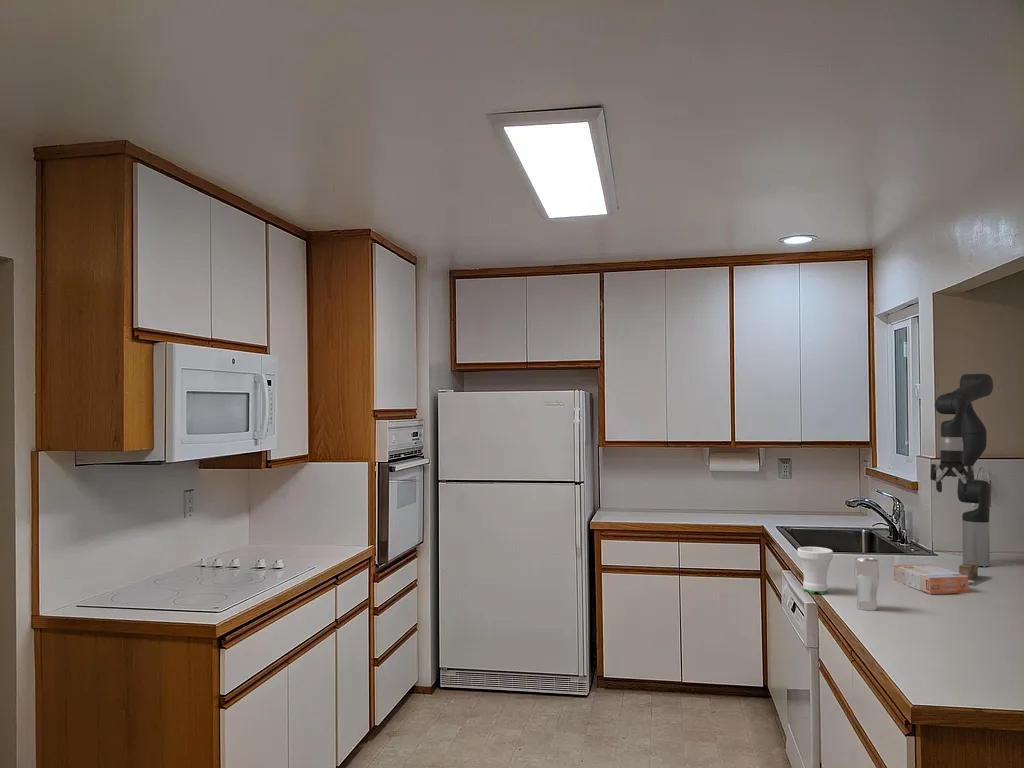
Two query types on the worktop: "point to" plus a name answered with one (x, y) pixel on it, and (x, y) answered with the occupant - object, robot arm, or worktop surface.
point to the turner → (969, 571)
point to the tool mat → (979, 580)
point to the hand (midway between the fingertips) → (952, 492)
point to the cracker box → (931, 579)
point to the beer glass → (866, 583)
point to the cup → (815, 568)
